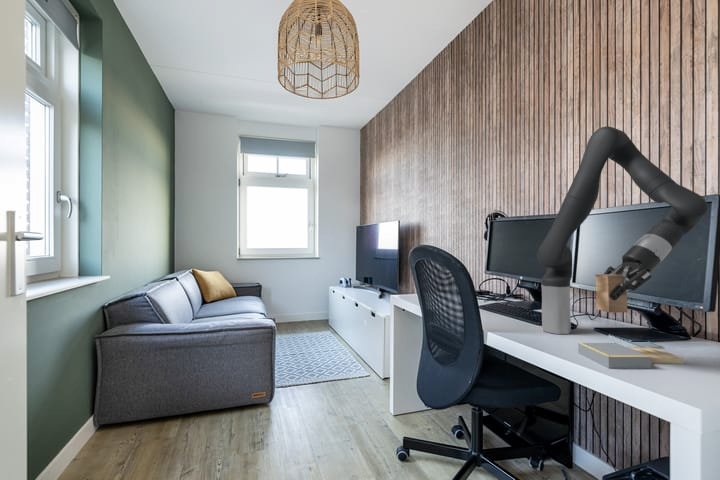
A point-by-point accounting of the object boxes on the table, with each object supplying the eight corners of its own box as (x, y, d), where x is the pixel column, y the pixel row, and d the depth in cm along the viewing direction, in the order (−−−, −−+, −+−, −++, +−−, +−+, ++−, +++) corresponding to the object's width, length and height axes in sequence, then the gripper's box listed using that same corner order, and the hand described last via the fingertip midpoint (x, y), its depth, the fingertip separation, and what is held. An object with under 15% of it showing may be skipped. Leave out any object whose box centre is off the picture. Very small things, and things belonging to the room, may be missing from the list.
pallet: (619, 352, 103) (619, 347, 103) (652, 352, 102) (652, 346, 102) (646, 363, 93) (646, 357, 93) (683, 363, 92) (683, 357, 92)
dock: (578, 352, 102) (578, 342, 102) (615, 352, 102) (615, 342, 102) (608, 368, 89) (608, 356, 89) (651, 368, 89) (651, 356, 89)
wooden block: (596, 309, 99) (595, 274, 99) (614, 309, 99) (613, 274, 99) (608, 312, 93) (607, 275, 94) (627, 312, 93) (626, 275, 94)
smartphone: (641, 347, 106) (607, 334, 121) (642, 350, 106) (607, 337, 121) (665, 347, 106) (627, 334, 121) (665, 350, 106) (627, 336, 121)
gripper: (617, 244, 103) (578, 284, 103) (658, 244, 89) (612, 290, 89) (636, 261, 103) (596, 301, 103) (679, 264, 89) (634, 310, 89)
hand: (604, 296), depth 96 cm, fingers closed on wooden block, 5 cm apart
